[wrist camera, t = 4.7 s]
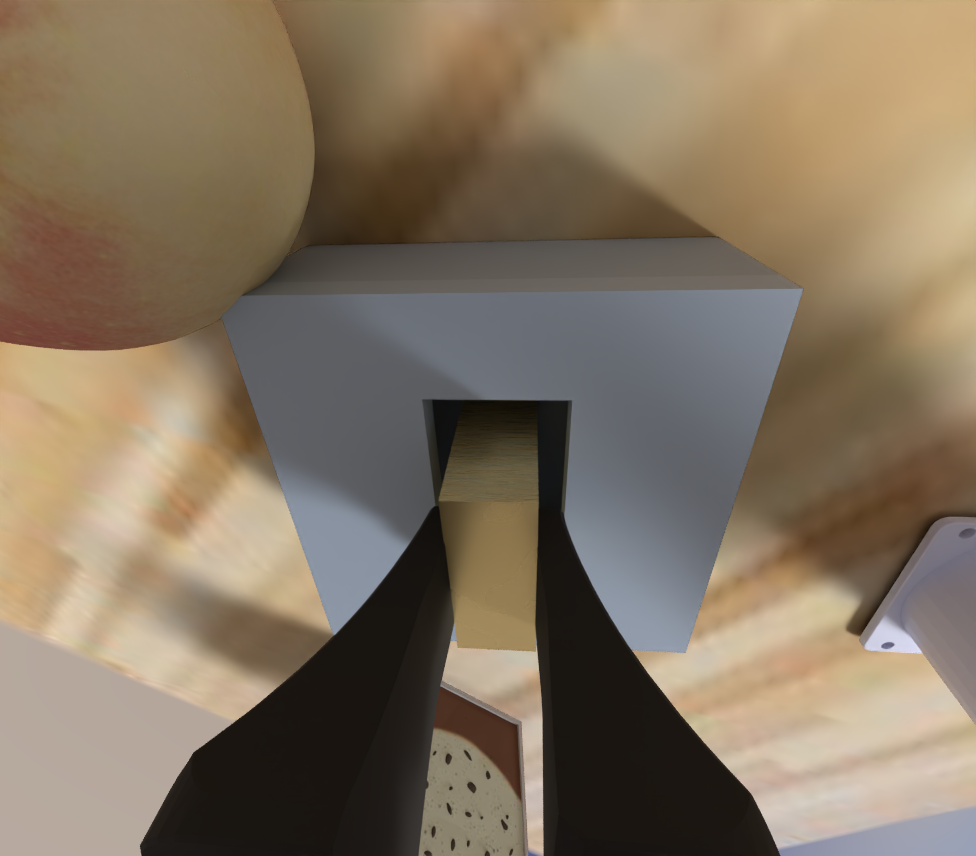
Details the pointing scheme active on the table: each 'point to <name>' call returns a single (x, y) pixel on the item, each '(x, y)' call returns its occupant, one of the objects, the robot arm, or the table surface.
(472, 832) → the food container
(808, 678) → the table surface
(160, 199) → the apple
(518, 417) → the block
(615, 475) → the coin box
